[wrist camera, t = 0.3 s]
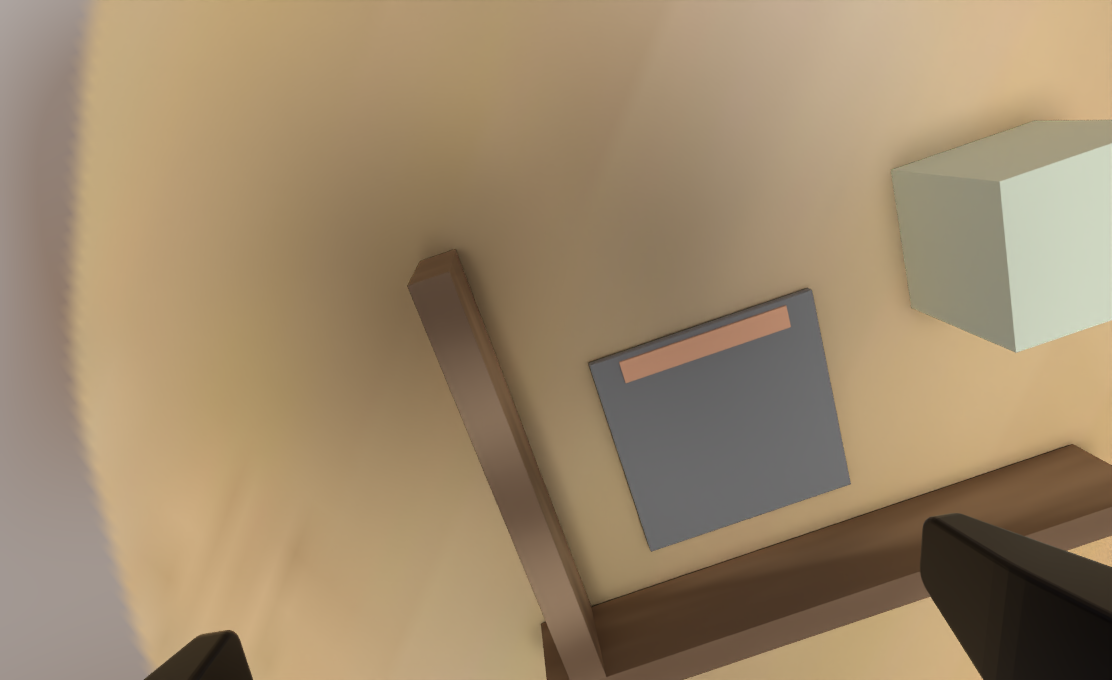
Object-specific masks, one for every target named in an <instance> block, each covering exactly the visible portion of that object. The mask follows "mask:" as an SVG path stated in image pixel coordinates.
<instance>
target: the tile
mask: <svg viewBox="0 0 1112 680" xmlns="http://www.w3.org/2000/svg"><path fill="white" fill-rule="evenodd" d="M588 364H589V367H590V370H591V373H592V376H593V379H594V382H595V385H596V388H597V391H598V394H599V397H600V400H601V403H602V406H603V409H604V412H605V415H606V418H607V421H608V424H609V427H610V430H611V433H612V436H613V439H614V442H615V445H616V448H617V451H618V454H619V457H620V460H621V463H622V466H623V469H624V472H625V476H626V479H627V482H628V485H629V488H630V491H631V494H632V497H633V500H634V503H635V506H636V509H637V512H638V515H639V518H640V521H641V524H642V527H643V530H644V533H645V536H646V539H647V542H648V545H649V548H650V550H651V552H652V551H655V550H658V549H660V548H663V547H666V546H669V545H672V544H675V543H678V542H681V541H684V540H687V539H690V538H693V537H696V536H699V535H702V534H705V533H708V532H711V531H714V530H717V529H720V528H723V527H726V526H728V525H731V524H734V523H737V522H740V521H743V520H746V519H749V518H752V517H755V516H758V515H761V514H764V513H767V512H770V511H773V510H776V509H779V508H782V507H785V506H788V505H791V504H794V503H796V502H799V501H802V500H805V499H808V498H811V497H814V496H817V495H820V494H823V493H826V492H829V491H832V490H835V489H838V488H841V487H844V486H847V485H850V484H851V483H850V478H849V473H848V468H847V463H846V458H845V453H844V448H843V443H842V438H841V433H840V428H839V423H838V418H837V413H836V408H835V403H834V398H833V393H832V388H831V383H830V378H829V373H828V368H827V363H826V358H825V353H824V348H823V343H822V338H821V333H820V328H819V323H818V318H817V313H816V308H815V303H814V298H813V293H812V290H810V289H808V288H807V289H804V290H801V291H798V292H795V293H792V294H789V295H786V296H783V297H780V298H778V299H775V300H772V301H769V302H766V303H763V304H760V305H757V306H754V307H751V308H748V309H745V310H742V311H739V312H737V313H734V314H731V315H728V316H725V317H722V318H719V319H716V320H713V321H710V322H707V323H704V324H701V325H698V326H695V327H693V328H690V329H687V330H684V331H681V332H678V333H675V334H672V335H669V336H666V337H663V338H660V339H657V340H654V341H651V342H649V343H646V344H643V345H640V346H637V347H634V348H631V349H628V350H625V351H622V352H619V353H616V354H613V355H610V356H608V357H605V358H602V359H599V360H596V361H593V362H590V363H588Z"/></svg>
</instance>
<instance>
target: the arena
mask: <svg viewBox="0 0 1112 680" xmlns="http://www.w3.org/2000/svg"><path fill="white" fill-rule="evenodd" d="M407 287H408V289H409V292H410V294H411V296H412V299H413V301H414V304H415V306H416V309H417V311H418V313H419V316H420V318H421V321H422V323H423V326H424V328H425V330H426V333H427V335H428V338H429V340H430V342H431V345H432V347H433V350H434V352H435V355H436V357H437V359H438V362H439V364H440V367H441V369H442V372H443V374H444V376H445V379H446V381H447V384H448V386H449V388H450V391H451V393H452V396H453V398H454V401H455V403H456V405H457V408H458V410H459V413H460V415H461V417H462V420H463V422H464V425H465V427H466V430H467V432H468V434H469V437H470V439H471V442H472V444H473V447H474V449H475V451H476V454H477V456H478V459H479V461H480V463H481V466H482V468H483V471H484V473H485V476H486V478H487V480H488V483H489V485H490V488H491V490H492V493H493V495H494V497H495V500H496V502H497V505H498V507H499V509H500V512H501V514H502V517H503V519H504V522H505V524H506V526H507V529H508V531H509V534H510V536H511V539H512V541H513V543H514V546H515V548H516V551H517V553H518V555H519V558H520V560H521V563H522V565H523V568H524V570H525V572H526V575H527V577H528V580H529V582H530V584H531V587H532V589H533V592H534V594H535V597H536V599H537V601H538V604H539V606H540V609H541V611H542V614H543V616H544V618H545V621H546V622H545V623H542V624H541V629H542V638H543V648H544V657H545V667H546V677H547V680H684V679H687V678H690V677H693V676H696V675H699V674H702V673H705V672H707V671H710V670H713V669H716V668H719V667H722V666H725V665H728V664H731V663H734V662H737V661H740V660H743V659H746V658H749V657H752V656H755V655H758V654H761V653H764V652H767V651H770V650H773V649H776V648H779V647H782V646H785V645H788V644H791V643H794V642H797V641H800V640H803V639H806V638H809V637H812V636H814V635H817V634H820V633H823V632H826V631H829V630H832V629H835V628H838V627H841V626H844V625H847V624H850V623H853V622H856V621H859V620H862V619H865V618H868V617H871V616H874V615H877V614H880V613H883V612H886V611H889V610H892V609H895V608H898V607H901V606H904V605H907V604H910V603H913V602H916V601H918V600H921V599H924V598H927V597H930V595H929V593H928V591H927V590H926V588H925V586H924V584H923V582H922V578H921V574H920V556H921V541H922V528H923V524H924V522H925V520H926V519H927V518H929V517H931V516H936V515H943V514H949V513H961V514H964V515H967V516H969V517H972V518H975V519H978V520H981V521H983V522H986V523H989V524H992V525H995V526H998V527H1000V528H1003V529H1006V530H1009V531H1012V532H1014V533H1017V534H1020V535H1023V536H1026V537H1028V538H1031V539H1034V540H1037V541H1040V542H1042V543H1045V544H1048V545H1051V546H1054V547H1057V548H1059V549H1062V550H1065V551H1067V550H1070V549H1073V548H1076V547H1079V546H1082V545H1085V544H1088V543H1091V542H1094V541H1097V540H1100V539H1103V538H1106V537H1109V536H1112V465H1110V464H1108V463H1106V462H1105V461H1103V460H1101V459H1099V458H1097V457H1095V456H1094V455H1092V454H1090V453H1088V452H1086V451H1084V450H1082V449H1081V448H1079V447H1077V446H1075V445H1073V444H1072V445H1069V446H1066V447H1063V448H1060V449H1057V450H1054V451H1051V452H1048V453H1046V454H1043V455H1040V456H1037V457H1034V458H1031V459H1028V460H1025V461H1022V462H1019V463H1016V464H1013V465H1010V466H1007V467H1004V468H1001V469H998V470H995V471H992V472H989V473H986V474H983V475H980V476H977V477H974V478H972V479H969V480H966V481H963V482H960V483H957V484H954V485H951V486H948V487H945V488H942V489H939V490H936V491H933V492H930V493H927V494H924V495H921V496H918V497H915V498H912V499H909V500H906V501H903V502H900V503H898V504H895V505H892V506H889V507H886V508H883V509H880V510H877V511H874V512H871V513H868V514H865V515H862V516H859V517H856V518H853V519H850V520H847V521H844V522H841V523H838V524H835V525H832V526H829V527H826V528H824V529H821V530H818V531H815V532H812V533H809V534H806V535H803V536H800V537H797V538H794V539H791V540H788V541H785V542H782V543H779V544H776V545H773V546H770V547H767V548H764V549H761V550H758V551H755V552H752V553H750V554H747V555H744V556H741V557H738V558H735V559H732V560H729V561H726V562H723V563H720V564H717V565H714V566H711V567H708V568H705V569H702V570H699V571H696V572H693V573H690V574H687V575H684V576H681V577H679V578H676V579H673V580H670V581H667V582H664V583H661V584H658V585H655V586H652V587H649V588H646V589H643V590H640V591H637V592H634V593H631V594H628V595H625V596H622V597H619V598H616V599H613V600H610V601H607V602H605V603H602V604H599V605H596V606H593V607H591V604H590V602H589V599H588V597H587V594H586V591H585V589H584V586H583V583H582V581H581V578H580V576H579V573H578V570H577V568H576V565H575V562H574V560H573V557H572V554H571V552H570V549H569V547H568V544H567V541H566V539H565V536H564V533H563V531H562V528H561V526H560V523H559V520H558V518H557V515H556V512H555V510H554V507H553V505H552V502H551V499H550V497H549V494H548V491H547V489H546V486H545V484H544V481H543V478H542V476H541V473H540V470H539V468H538V465H537V463H536V460H535V457H534V455H533V452H532V449H531V447H530V444H529V441H528V439H527V436H526V434H525V431H524V428H523V426H522V423H521V420H520V418H519V415H518V413H517V410H516V407H515V405H514V402H513V399H512V397H511V394H510V392H509V389H508V386H507V384H506V381H505V378H504V376H503V373H502V371H501V368H500V365H499V363H498V360H497V357H496V355H495V352H494V349H493V347H492V344H491V342H490V339H489V336H488V334H487V331H486V328H485V326H484V323H483V321H482V318H481V315H480V313H479V310H478V307H477V305H476V302H475V300H474V297H473V294H472V292H471V289H470V286H469V284H468V281H467V279H466V276H465V273H464V271H463V268H462V265H461V263H460V260H459V257H458V255H457V252H456V250H455V249H454V250H451V251H448V252H445V253H442V254H439V255H436V256H433V257H430V258H427V259H425V260H422V261H420V262H419V264H418V266H417V268H416V270H415V272H414V274H413V276H412V277H411V279H410V281H409V283H408V285H407Z"/></svg>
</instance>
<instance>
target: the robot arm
mask: <svg viewBox="0 0 1112 680" xmlns="http://www.w3.org/2000/svg"><path fill="white" fill-rule="evenodd" d="M920 574H921V578H922V582H923V584H924V586H925V588H926V590H927V591H928V593H929V595H930V596H931V598H932V599H933V601H934V603H935V604H936V606H937V607H938V609H939V611H940V612H941V614H942V615H943V617H944V618H945V620H946V622H947V623H948V625H949V626H950V628H951V630H952V631H953V633H954V634H955V636H956V637H957V639H958V641H959V642H960V644H961V645H962V647H963V649H964V650H965V652H966V653H967V655H968V656H969V658H970V660H971V661H972V663H973V664H974V666H975V668H976V669H977V671H978V672H979V674H980V675H981V677H982V678H983V680H1112V567H1110V566H1107V565H1104V564H1101V563H1099V562H1096V561H1093V560H1090V559H1087V558H1085V557H1082V556H1079V555H1076V554H1073V553H1071V552H1068V551H1065V550H1062V549H1059V548H1057V547H1054V546H1051V545H1048V544H1045V543H1042V542H1040V541H1037V540H1034V539H1031V538H1028V537H1026V536H1023V535H1020V534H1017V533H1014V532H1012V531H1009V530H1006V529H1003V528H1000V527H998V526H995V525H992V524H989V523H986V522H983V521H981V520H978V519H975V518H972V517H969V516H967V515H964V514H961V513H949V514H943V515H936V516H931V517H929V518H927V519H926V520H925V522H924V524H923V528H922V541H921V556H920ZM144 680H253V678H252V675H251V672H250V669H249V666H248V663H247V660H246V657H245V654H244V651H243V648H242V645H241V642H240V639H239V637H238V635H237V634H236V633H235V632H234V631H231V630H225V631H219V632H213V633H206V634H202V635H199V636H197V637H196V638H194V639H193V640H192V641H191V642H189V643H188V644H187V645H186V646H185V647H183V648H182V649H181V650H180V651H178V652H177V653H176V654H175V655H173V656H172V657H171V658H170V659H169V660H167V661H166V662H165V663H164V664H162V665H161V666H160V667H159V668H157V669H156V670H155V671H154V672H153V673H151V674H150V675H149V676H148V677H146V678H145V679H144Z"/></svg>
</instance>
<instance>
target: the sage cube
mask: <svg viewBox="0 0 1112 680" xmlns="http://www.w3.org/2000/svg"><path fill="white" fill-rule="evenodd" d="M891 175H892V182H893V188H894V195H895V202H896V209H897V215H898V222H899V229H900V235H901V242H902V249H903V255H904V262H905V269H906V275H907V282H908V289H909V296H910V302H911V308H913V309H915V310H918V311H920V312H922V313H925V314H927V315H929V316H932V317H934V318H936V319H939V320H941V321H943V322H946V323H948V324H950V325H953V326H955V327H957V328H960V329H962V330H964V331H967V332H969V333H971V334H974V335H976V336H978V337H981V338H983V339H985V340H988V341H990V342H992V343H995V344H997V345H999V346H1002V347H1004V348H1006V349H1009V350H1011V351H1013V352H1019V351H1022V350H1025V349H1028V348H1031V347H1034V346H1037V345H1040V344H1043V343H1046V342H1049V341H1052V340H1055V339H1058V338H1061V337H1064V336H1067V335H1070V334H1072V333H1075V332H1078V331H1081V330H1084V329H1087V328H1090V327H1093V326H1096V325H1099V324H1102V323H1105V322H1108V321H1111V320H1112V120H1051V121H1032V122H1029V123H1027V124H1024V125H1021V126H1018V127H1015V128H1012V129H1009V130H1006V131H1003V132H1000V133H997V134H994V135H992V136H989V137H986V138H983V139H980V140H977V141H974V142H971V143H968V144H965V145H962V146H959V147H956V148H954V149H951V150H948V151H945V152H942V153H939V154H936V155H933V156H930V157H927V158H924V159H921V160H918V161H916V162H913V163H910V164H907V165H904V166H901V167H898V168H895V169H892V170H891Z"/></svg>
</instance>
